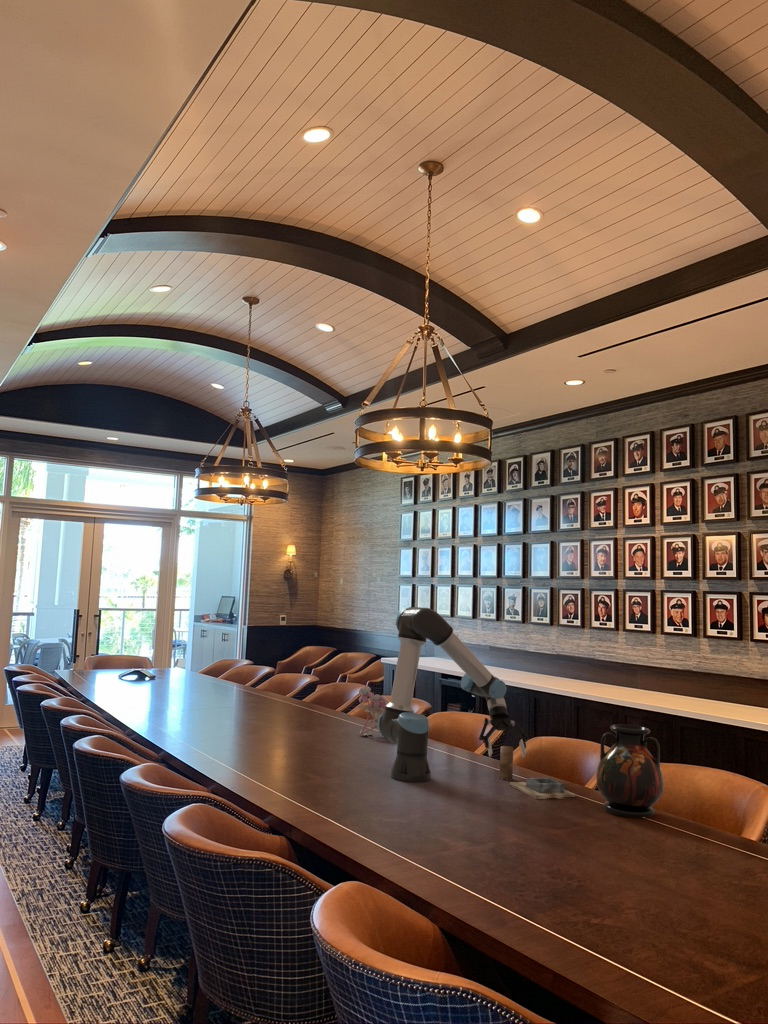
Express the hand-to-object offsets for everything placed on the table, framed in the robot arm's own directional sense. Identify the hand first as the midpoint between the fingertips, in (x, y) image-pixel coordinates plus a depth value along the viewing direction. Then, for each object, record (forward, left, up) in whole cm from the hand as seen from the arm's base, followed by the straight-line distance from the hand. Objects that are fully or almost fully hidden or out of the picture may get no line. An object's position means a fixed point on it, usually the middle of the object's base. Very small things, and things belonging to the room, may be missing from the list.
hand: (507, 755), depth 306 cm
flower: (-24, +91, -9) cm, 95 cm away
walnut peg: (-2, -3, -8) cm, 9 cm away
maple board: (+2, -24, -8) cm, 25 cm away
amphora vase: (+18, -54, -9) cm, 58 cm away
